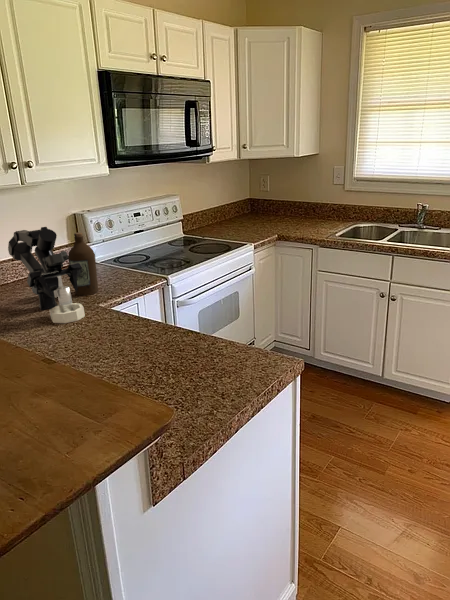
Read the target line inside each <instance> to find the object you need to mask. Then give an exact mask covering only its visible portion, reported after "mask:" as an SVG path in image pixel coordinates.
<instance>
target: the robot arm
mask: <svg viewBox="0 0 450 600" xmlns="http://www.w3.org/2000/svg"><path fill="white" fill-rule="evenodd" d="M57 236H58V235H57V233H56V232H55V231H54V230H52V229H50V228H48V227H47V226H41V227H40V229H35V230H26V229H23V230H15V232H13V236H12V237H11V238H10V239H9V241H8V244H7V245H8V247H7V251H8V255H9V256H11V257H12V258H13V259H14V260H15V261H20V262H21V263H22V264H23V265H24V266H25V268H26V269H27V270H28V271H29V273H28V276H27V280H26V283H27V285H28V286H29V288H31V291H32V293H33V294H35V295H37V296H38V300H39V304H38V308H39V309H40V310H41V311H43V310H47V309H48V310H50V309H52V308H54V307H55V306H58V305H59V303H57V301H56V298H55V296H54V291H55V290H57V288H59V281H58V277H57V276H61V277H62V276H65V275H67V276H68V281H69V282H70V284H71V286H72V288H73V289H74V291H75V290H76V291H78V286H77V277H78V276H79V275H80V273H81V270H82V266H81V264H80V263H73V264H69V263H68V265H67V267H66V268H64V263H65V262H66V261H69V260H68V254H69V253H67V251H66V250H62V251H60V252H59V253H55V252H54V251H53V250H54V249H55V246H56V241H57ZM33 247H35V248H34V253H35V256H34V255H33V253H32V252H33ZM37 259H38V260H37ZM62 268H63V269H62Z"/></svg>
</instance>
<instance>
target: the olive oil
mask: <svg viewBox="0 0 450 600" xmlns="http://www.w3.org/2000/svg"><path fill="white" fill-rule="evenodd" d="M73 235H74V244H73V246H72V247H71V248H70V250H69V251H68V253H67V254H68V260H67V261H68V265H69V264H73V263H80V264H81V266H82V270H81V273H80V275H79V276H78V277H77V286H78V291H76V290H75V289H74V293H75V295H77V296H89V295H93V294H97V293H98V292H99V284H98V273H97V261H96V255H95V252H94V250H93V248H92V247H90V246H89V245H88V244H87V243H86V242H85V239H84V236H83V232H74V234H73Z"/></svg>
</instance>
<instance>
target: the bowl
mask: <svg viewBox="0 0 450 600" xmlns="http://www.w3.org/2000/svg"><path fill="white" fill-rule="evenodd" d="M72 305H73V311H70V312H65V313H61V312H60V306H59V304H58V306H55V307H54V308H49V314H50V320H51V321H52V323H54V324H67V323H72V322H78V321H79V320H81V319H83V318H84V317H86V315H85V308H84V306H83V304H82V303H79V302H78V303H76V302H75V303H73V302H72Z"/></svg>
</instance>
